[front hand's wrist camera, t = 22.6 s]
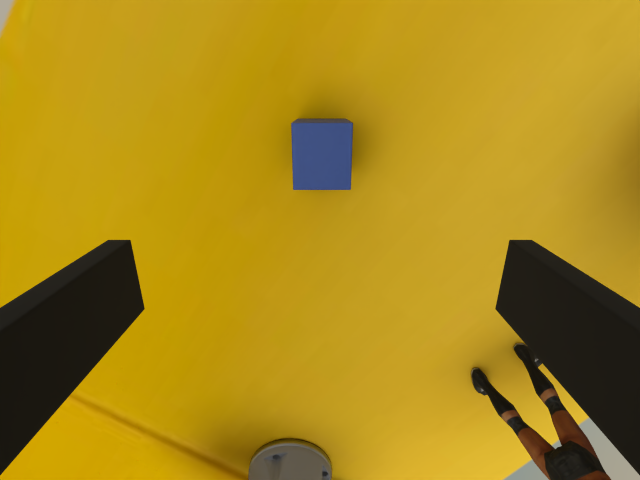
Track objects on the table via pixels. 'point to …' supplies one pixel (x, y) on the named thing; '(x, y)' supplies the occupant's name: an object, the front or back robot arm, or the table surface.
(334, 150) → the brick
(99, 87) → the table surface
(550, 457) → the figurine
